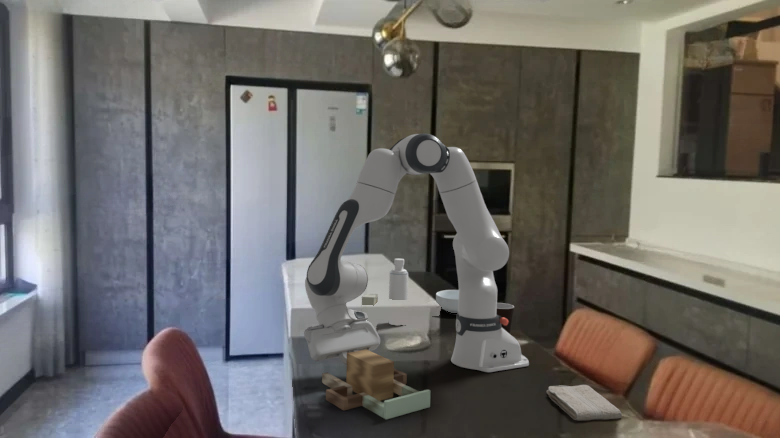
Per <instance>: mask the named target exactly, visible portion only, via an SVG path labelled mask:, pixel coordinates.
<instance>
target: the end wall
mask: <svg viewBox="0 0 780 438" xmlns="http://www.w3.org/2000/svg"><path fill="white" fill-rule="evenodd" d="M431 393H432V392H431V390H430V389H428V388H427V389H424V390H421V391H419V392H416V393H412V394H408V395H405V396H398V397H393V398H389V399H385V400H383V403H384V415H383V419H384V420H389V419H394V418H396V417H399V416H403V415H406V414H410V413H413V412H417V411H418V412H419V411H421V410H423V409H424V410H425V409H427V408H430V407H431Z"/></svg>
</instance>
